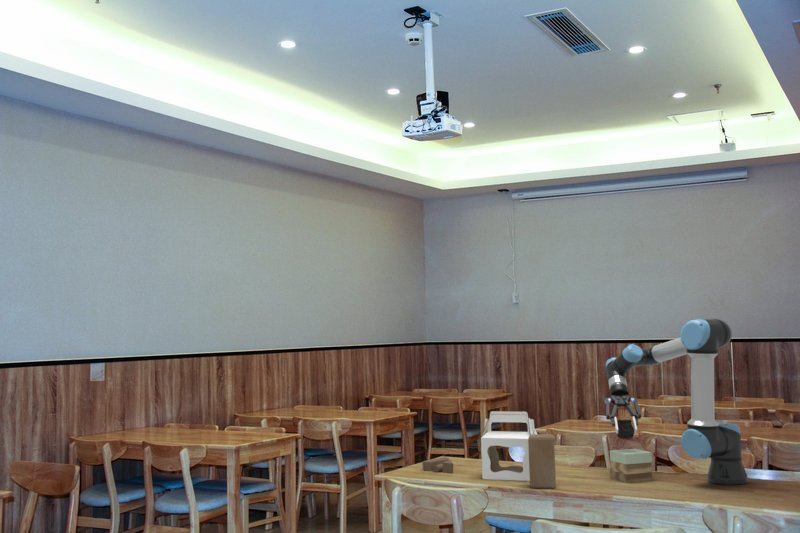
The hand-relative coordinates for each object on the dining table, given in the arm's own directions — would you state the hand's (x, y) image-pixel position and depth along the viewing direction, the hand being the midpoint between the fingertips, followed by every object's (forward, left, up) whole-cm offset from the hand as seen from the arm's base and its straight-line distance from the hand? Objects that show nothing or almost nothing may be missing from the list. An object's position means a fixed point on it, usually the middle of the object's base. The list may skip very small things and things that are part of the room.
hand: (626, 431), depth 335 cm
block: (+5, +36, -20) cm, 41 cm away
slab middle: (+3, -3, -17) cm, 17 cm away
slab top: (+3, -3, -13) cm, 14 cm away
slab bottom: (+4, -3, -21) cm, 21 cm away
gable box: (+29, +39, -20) cm, 53 cm away
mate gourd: (+3, -1, -4) cm, 5 cm away
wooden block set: (+62, +56, -21) cm, 86 cm away
